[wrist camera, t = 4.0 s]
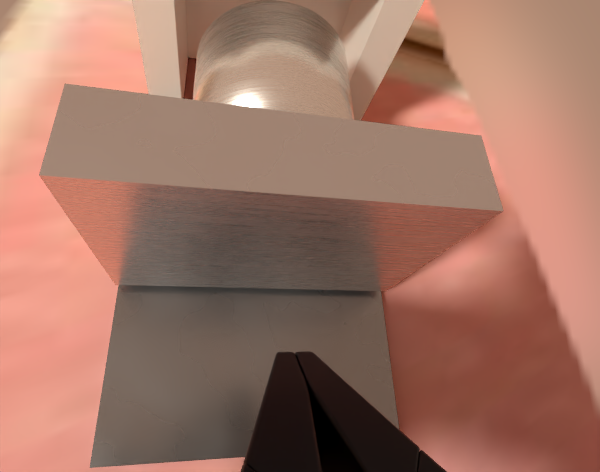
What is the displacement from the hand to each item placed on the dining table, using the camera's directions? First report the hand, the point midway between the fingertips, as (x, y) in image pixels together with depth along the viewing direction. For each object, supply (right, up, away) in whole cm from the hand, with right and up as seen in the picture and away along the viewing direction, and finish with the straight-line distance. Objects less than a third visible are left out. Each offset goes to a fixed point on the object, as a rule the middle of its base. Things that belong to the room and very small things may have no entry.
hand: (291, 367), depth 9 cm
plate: (-2, +2, +8) cm, 9 cm away
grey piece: (-2, +4, +8) cm, 10 cm away
